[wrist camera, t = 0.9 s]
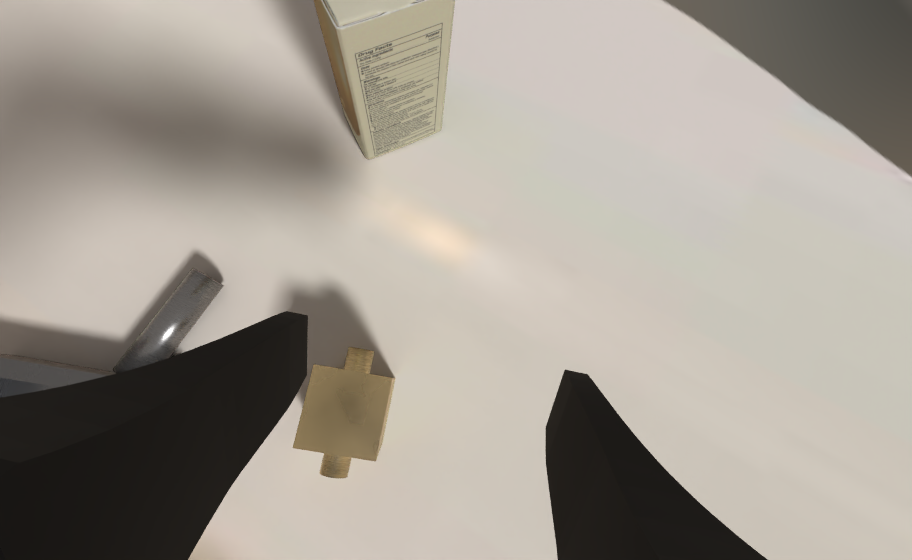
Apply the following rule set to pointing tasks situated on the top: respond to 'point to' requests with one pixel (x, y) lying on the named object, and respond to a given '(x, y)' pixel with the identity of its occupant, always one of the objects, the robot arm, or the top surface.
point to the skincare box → (389, 67)
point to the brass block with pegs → (345, 413)
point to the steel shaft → (171, 322)
